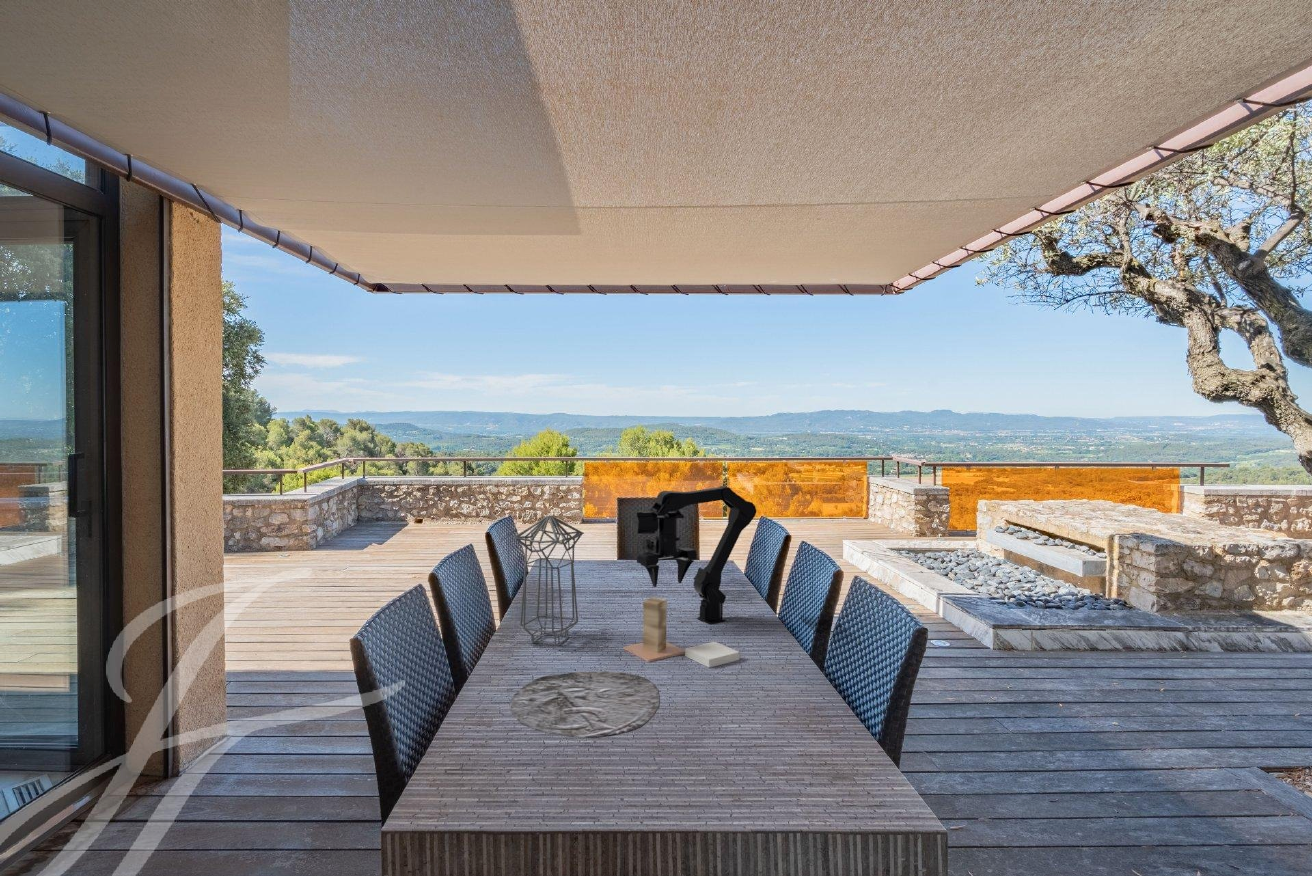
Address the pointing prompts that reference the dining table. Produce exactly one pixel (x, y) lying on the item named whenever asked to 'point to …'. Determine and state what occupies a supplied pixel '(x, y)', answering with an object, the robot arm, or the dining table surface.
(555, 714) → the worn metal disc
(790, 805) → the dining table surface
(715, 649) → the white square tile
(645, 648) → the oak block
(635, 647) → the terracotta tile
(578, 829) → the dining table surface
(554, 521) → the geometric lantern
